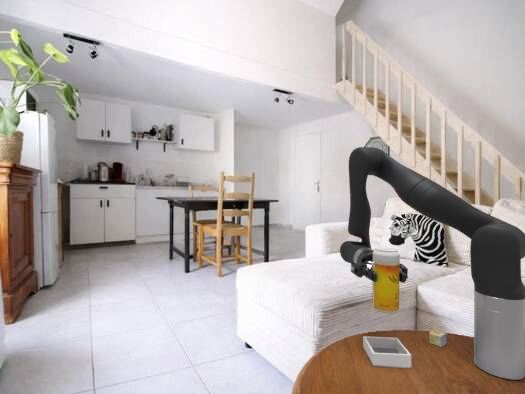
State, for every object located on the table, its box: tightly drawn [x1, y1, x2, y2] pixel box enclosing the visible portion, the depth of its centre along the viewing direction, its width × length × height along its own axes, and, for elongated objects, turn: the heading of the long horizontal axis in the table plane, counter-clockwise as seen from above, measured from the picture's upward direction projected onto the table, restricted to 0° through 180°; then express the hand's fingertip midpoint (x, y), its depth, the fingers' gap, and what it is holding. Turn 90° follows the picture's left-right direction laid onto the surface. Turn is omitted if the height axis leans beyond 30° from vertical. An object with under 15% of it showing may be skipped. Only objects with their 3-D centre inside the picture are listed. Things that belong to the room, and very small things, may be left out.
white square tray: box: [362, 335, 412, 369], centre depth 73 cm, size 9×9×3 cm
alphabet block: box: [428, 329, 447, 348], centre depth 80 cm, size 3×3×3 cm
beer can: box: [371, 246, 401, 315], centre depth 73 cm, size 6×6×15 cm
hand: (389, 278), depth 70 cm, fingers closed on beer can, 6 cm apart
